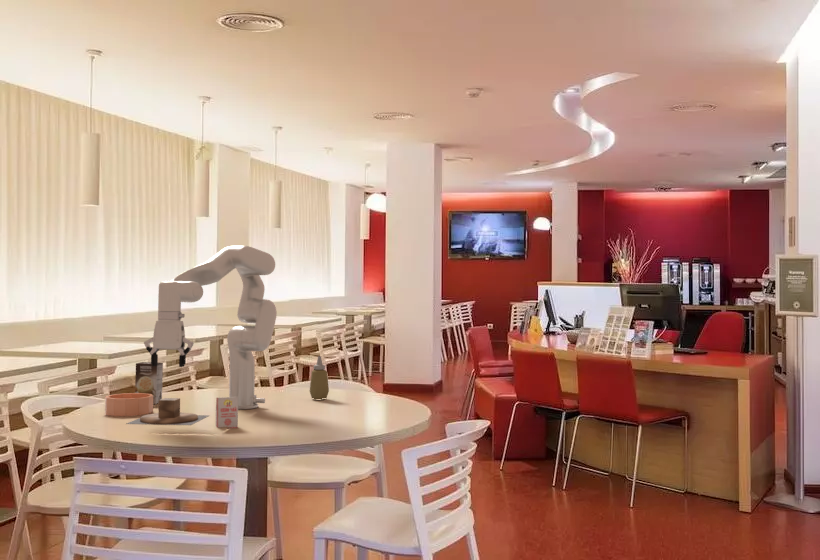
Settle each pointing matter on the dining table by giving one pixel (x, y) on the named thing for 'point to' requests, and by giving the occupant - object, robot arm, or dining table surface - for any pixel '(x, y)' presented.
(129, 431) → the dining table surface
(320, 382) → the squeeze bottle
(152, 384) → the coffee box
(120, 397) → the bowl
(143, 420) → the lid
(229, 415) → the red and white carton
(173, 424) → the mat
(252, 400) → the robot arm
